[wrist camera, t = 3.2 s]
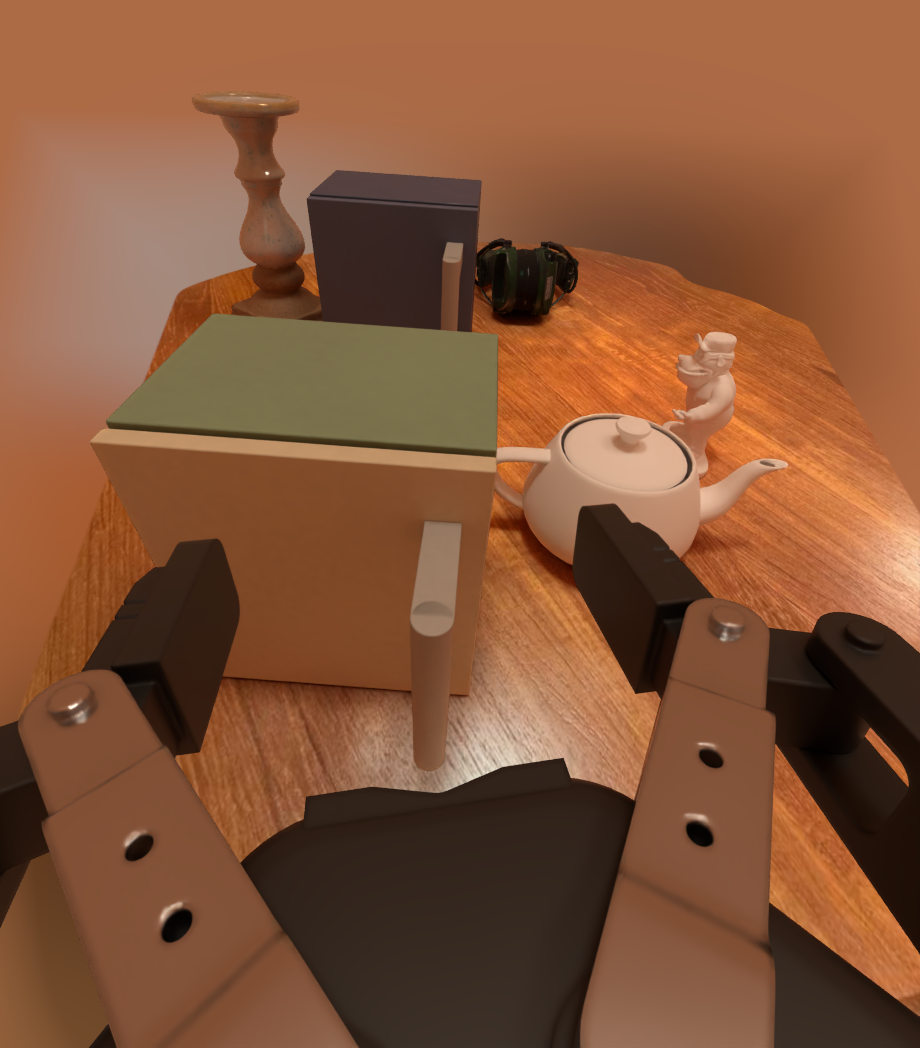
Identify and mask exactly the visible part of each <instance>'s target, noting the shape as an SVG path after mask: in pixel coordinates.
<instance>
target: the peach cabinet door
mask: <svg viewBox="0 0 920 1048" xmlns="http://www.w3.org/2000/svg"><path fill="white" fill-rule="evenodd" d="M90 444H91V445H92V448H93V449H94V451H95V453H96V455H97V457H98V459H99V461H100V462H101V464H102V466H103V468H104V470H105V472H106V474H107V476H108V478H109V479H110V481H111V483H112V485H113V487H114V489H115V491H116V493H117V494H118V496H119V498H120V500H121V502H122V504H123V506H124V508H125V509H126V511H127V513H128V515H129V517H130V519H131V521H132V523H133V524H134V526H135V528H136V530H137V532H138V534H139V536H140V538H141V539H142V541H143V543H144V545H145V547H146V549H147V551H148V553H149V554H150V556H151V558H152V560H153V562H154V564H155V566H156V567H164V566H165V565H166V564H167V562H168V560H169V558H170V556H171V554H172V553H173V551H174V549H175V547H176V545H177V544H178V543H179V542H182V541H193V540H204V539H215V538H216V539H219V540H220V541H221V543H222V545H223V547H224V550H225V554H226V557H227V560H228V563H229V567H230V570H231V573H232V576H233V580H234V583H235V586H236V590H237V593H238V597H239V603H240V618H239V623H238V627H237V630H236V634H235V637H234V640H233V644H232V647H231V650H230V653H229V657H228V660H227V663H226V667H225V670H224V673H223V676H225V677H238V678H251V679H263V680H276V681H289V682H302V683H315V684H328V685H341V686H354V687H366V688H379V689H392V690H405V691H412V716H413V750H414V761H415V763H416V765H417V766H418V767H419V768H420V769H422V770H425V771H433V770H436V769H438V768H439V767H440V766H441V765H442V763H443V761H444V758H445V746H446V734H447V721H448V708H449V695H450V694H457V695H469V690H470V682H471V674H472V666H473V658H474V650H475V642H476V633H477V625H478V617H479V609H480V601H481V593H482V585H483V577H484V569H485V561H486V553H487V545H488V537H489V528H490V520H491V512H492V504H493V496H494V488H495V480H496V468H497V460H496V458H495V457H483V456H470V455H456V454H443V453H429V452H416V451H402V450H389V449H375V448H362V447H349V446H335V445H322V444H308V443H295V442H281V441H268V440H255V439H241V438H228V437H214V436H201V435H187V434H174V433H160V432H147V431H134V430H120V429H107V428H106V429H105V428H104V429H102V430H101V431H99V432H98V434H97V435H96V436H95V437H94V438H93V439H92V440H91V441H90Z"/></svg>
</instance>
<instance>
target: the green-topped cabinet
mask: <svg viewBox="0 0 920 1048" xmlns="http://www.w3.org/2000/svg"><path fill="white" fill-rule="evenodd" d="M497 401H498V335H497V334H487V333H473V332H459V331H445V330H432V329H418V328H404V327H390V326H377V325H363V324H349V323H335V322H322V321H308V320H294V319H280V318H267V317H253V316H239V315H225V314H212V315H211V316H210V317H209V318H208V319H207V320H206V321H205V322H204V323H203V324H202V325H201V326H200V327H199V328H198V329H197V330H196V331H195V332H194V333H193V334H192V335H191V336H190V337H189V338H188V339H187V340H186V341H185V342H184V343H183V344H182V345H181V346H180V347H179V348H178V349H177V350H176V351H175V352H174V353H173V354H172V355H171V356H170V357H169V358H168V359H167V360H166V361H165V362H164V363H163V364H162V365H161V366H160V367H159V368H158V369H157V370H156V371H155V372H154V373H153V374H152V375H151V376H150V377H149V378H148V379H147V380H146V381H145V382H144V383H143V384H142V385H141V386H140V387H139V388H138V389H137V390H136V391H135V392H134V393H133V394H132V395H131V396H130V397H129V398H128V399H127V400H126V401H125V402H124V403H123V404H122V405H121V406H120V407H119V408H118V409H117V410H116V411H115V412H114V413H113V414H112V415H111V416H110V417H109V418H108V419H107V420H106V423H107V425H108V427H109V429H120V430H134V431H147V432H160V433H174V434H187V435H201V436H214V437H228V438H241V439H255V440H268V441H281V442H295V443H308V444H322V445H335V446H349V447H362V448H375V449H389V450H402V451H416V452H429V453H443V454H456V455H470V456H483V457H495V458H496V455H497Z"/></svg>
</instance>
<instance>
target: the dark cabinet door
mask: <svg viewBox="0 0 920 1048" xmlns="http://www.w3.org/2000/svg"><path fill="white" fill-rule="evenodd" d="M307 205H308V213H309V221H310V227H311V236H312V243H313V250H314V258H315V265H316V273H317V280H318V288H319V295H320V303H321V310H322V318H323V322H335V323H349V324H363V325H377V326H390V327H404V328H418V329H432V330H445V331H459V332H470V327H471V312H472V296H473V281H474V265H475V250H476V234H477V219H478V208H471V207H457V206H443V205H429V204H414V203H400V202H386V201H372V200H358V199H344V198H330V197H316V196H309V197H308V198H307Z"/></svg>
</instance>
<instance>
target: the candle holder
mask: <svg viewBox="0 0 920 1048" xmlns="http://www.w3.org/2000/svg"><path fill="white" fill-rule="evenodd" d="M192 102H193V105H194V107H195V108H196V109H197V110H198V111H201V112H204V113H208V114H213V115H219V116H220V118H221V119H222V121H223V124H224V126H225V128H226V130H227V131H228V132H229V133H230V134H231V135H232V137H233V138H234V140H235V141H236V144H237V147H238V151H239V159H238V164H237V167H236V169H235V172H234V173H235V176H236V177H237V178H238V179H240V180H241V184H242V186H243V187H244V188H245V190H246V191H247V193H248V197H249V205H248V211H247V214H246V217H245V219H244V222H243V225H242V228H241V232H240V239H239V240H240V246H241V249H242V251H243V253H244V254H245V255H246V257H247V258H249V259H250V260H251V261H252V262H254V263H256V264H257V265H256V267H255V268H254V270H253V274H252V277H253V280H254V283H255V284H256V285H257V286H258V287H259V288H260V289H259V290H258V291H257V292H256V293H255V294H254V295H253V296H252V297H251V298H249V299H246V300H243V301H241V302H238V303H236V304H234V305H233V306H232V311H233V313H232V314H231V315H239V316H253V317H267V318H280V319H294V320H308V321H322V322H323V318H322V310H321V303H320V297H317V296H315V295H314V294H312V293H311V292H310V291H309V290H307V289H305V288H304V287H302V286H301V285H302V284H303V282H304V272H303V270H302V268H301V267H300V266H299V265H298V264H297V263H296V261H297V260H299V259H300V258H301V256H302V255H303V252H304V249H305V242H304V238H303V235H302V233H301V231H300V230H299V228H298V226H297V225H296V223H295V222H294V221H293V219H292V218H291V217H290V215H289V214H288V213H287V211H286V209H285V208H284V206H283V204H282V203H281V200H280V196H279V191H280V187H281V185H282V182H281V179H282V178H283V177H284V176H285V173H284V170H283V169H282V168H281V167H280V165H279V164H278V162H277V161H276V159H275V156H274V154H273V148H272V142H273V137H274V135H275V133H276V131H277V128H278V118H279V116H286V115H291V114H294V113H297V112H298V111H299V101H298V100H297V99H296V98H294V97H290V96H285V95H279V94H270V93H257V92H212V93H202V94H196V95H194V96H193V97H192Z"/></svg>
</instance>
